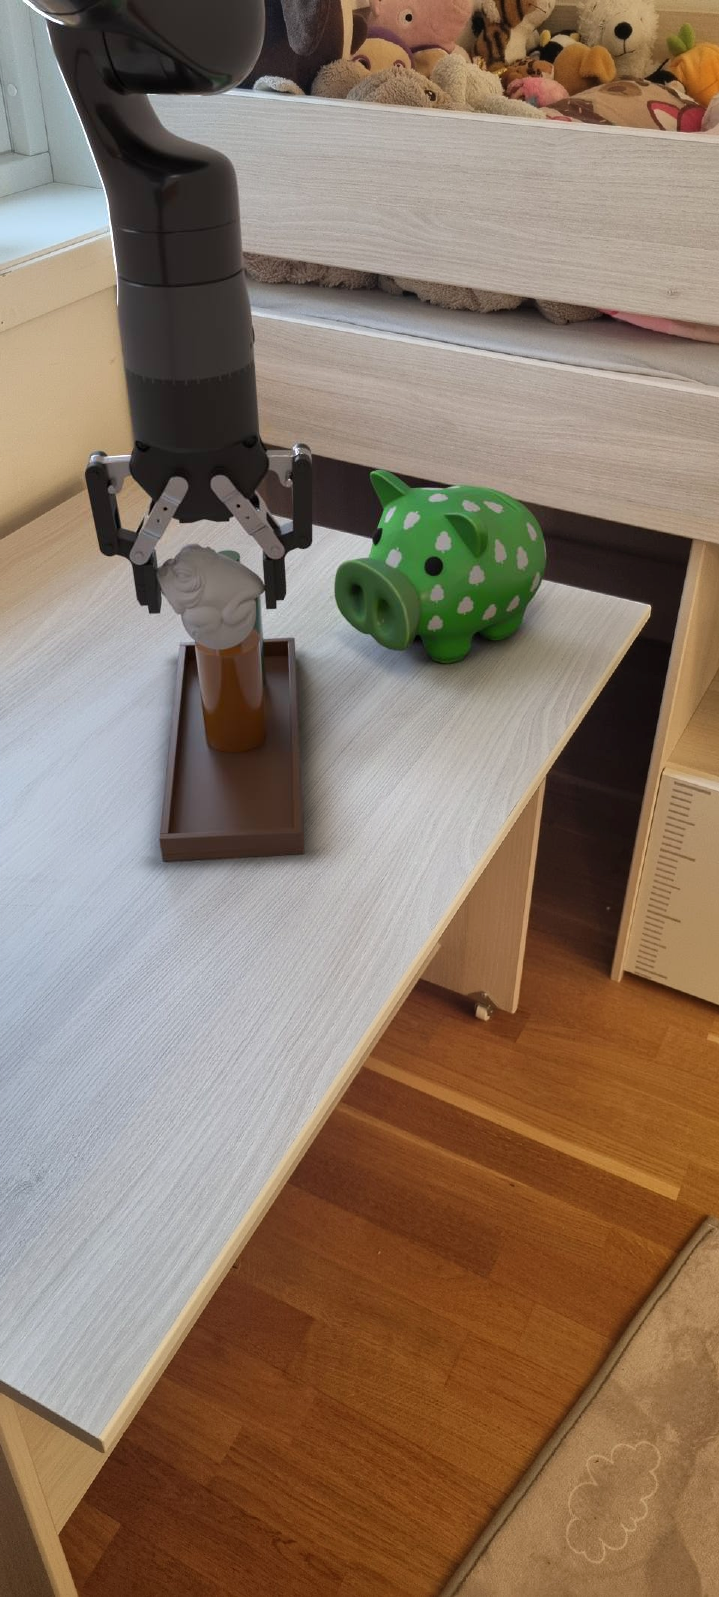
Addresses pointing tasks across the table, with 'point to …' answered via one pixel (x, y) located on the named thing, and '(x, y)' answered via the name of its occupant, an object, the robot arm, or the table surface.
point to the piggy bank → (443, 568)
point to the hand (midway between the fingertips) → (214, 605)
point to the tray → (234, 772)
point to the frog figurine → (211, 595)
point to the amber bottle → (232, 695)
